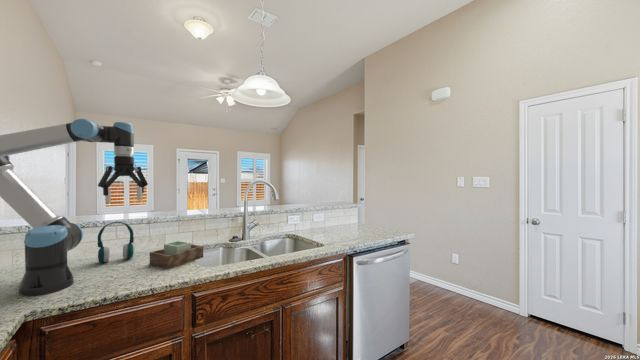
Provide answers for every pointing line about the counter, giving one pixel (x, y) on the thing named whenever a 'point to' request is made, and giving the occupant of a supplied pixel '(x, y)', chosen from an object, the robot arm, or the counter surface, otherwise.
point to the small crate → (176, 247)
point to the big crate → (175, 257)
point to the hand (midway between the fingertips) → (124, 201)
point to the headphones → (104, 251)
